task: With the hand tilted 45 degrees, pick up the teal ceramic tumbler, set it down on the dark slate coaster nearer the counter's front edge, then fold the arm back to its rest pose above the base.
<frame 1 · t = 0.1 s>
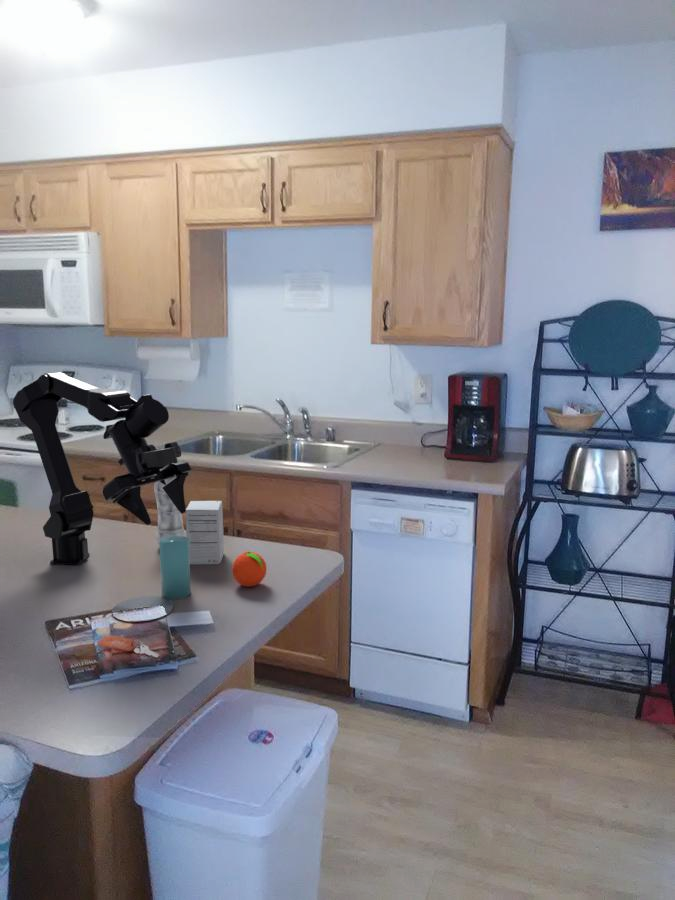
hand: (166, 518, 140), 15 cm above the table, tool tilted 35°, fingers open, 9 cm apart
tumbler: (176, 593, 141), on the table
coaster: (143, 609, 133), on the table
supplement box: (206, 559, 160), on the table
plastic bottle: (171, 548, 168), on the table
clementine: (251, 587, 145), on the table
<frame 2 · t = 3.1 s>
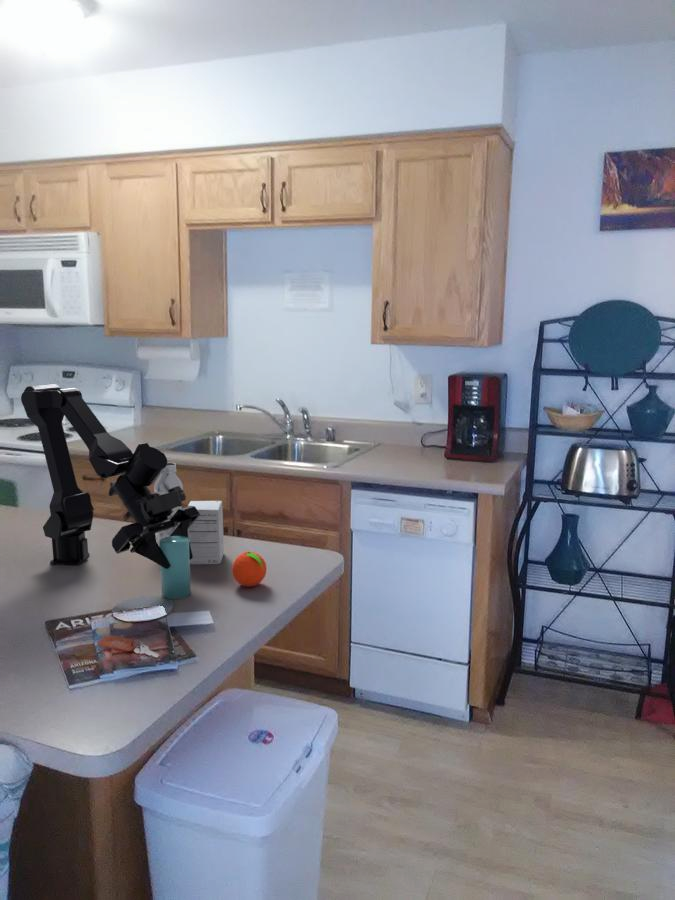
hand: (180, 563, 138), 7 cm above the table, tool tilted 45°, fingers closed on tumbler, 6 cm apart
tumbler: (176, 593, 141), on the table, touching gripper
everything else where it was.
when the fingers open (8 cm above the table, at t = 6.5 s): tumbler stays where it is, resting on coaster.
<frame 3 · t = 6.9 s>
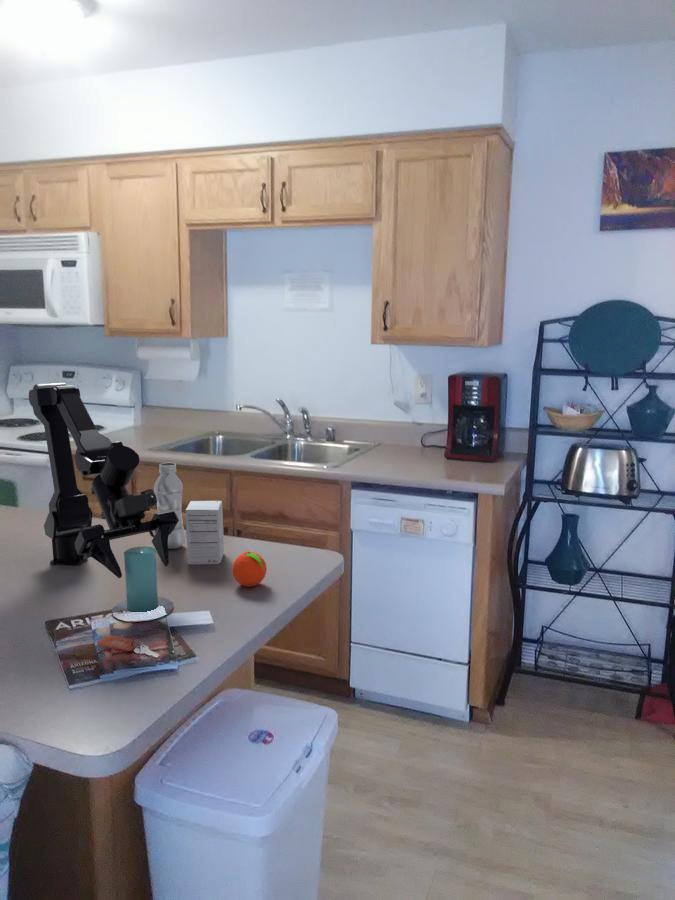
hand: (144, 570, 130), 8 cm above the table, tool tilted 45°, fingers open, 9 cm apart
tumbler: (142, 607, 133), resting on coaster
everything else where it was.
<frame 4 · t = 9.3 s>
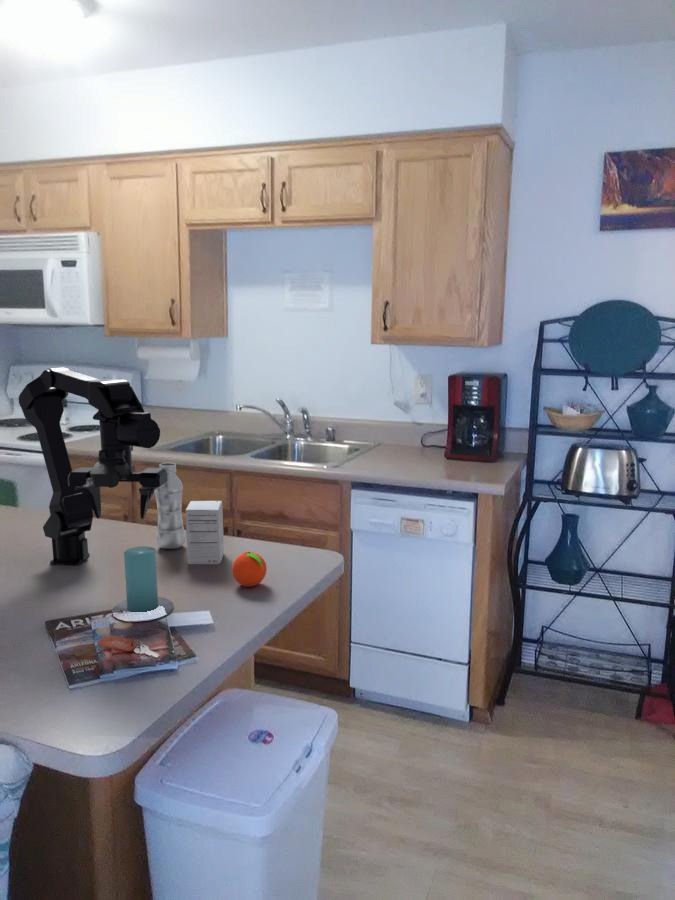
hand: (120, 518, 146), 13 cm above the table, tool pointing down, fingers open, 9 cm apart
nothing on the table moved.
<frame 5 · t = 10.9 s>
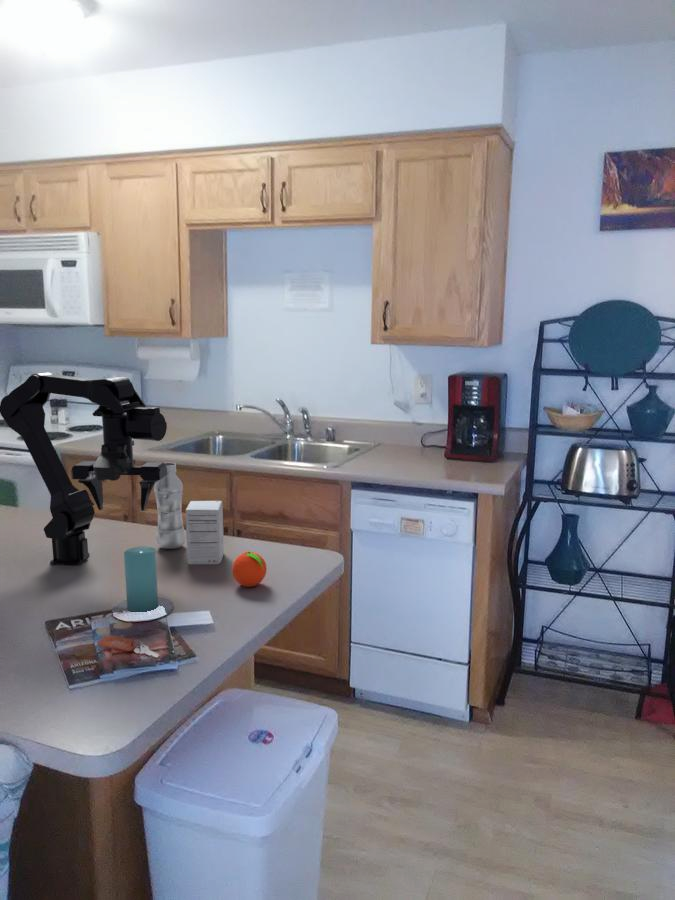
hand: (121, 510, 152), 13 cm above the table, tool pointing down, fingers open, 9 cm apart
nothing on the table moved.
at the end: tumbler 0.1 cm from the coaster (horizontally); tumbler tilted 0°; the gripper is holding nothing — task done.
